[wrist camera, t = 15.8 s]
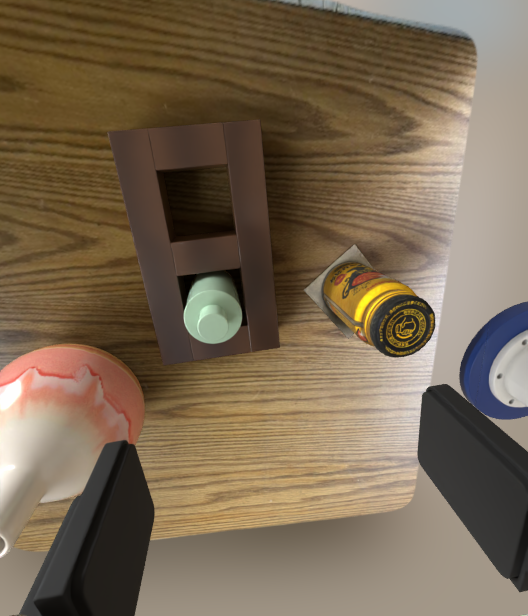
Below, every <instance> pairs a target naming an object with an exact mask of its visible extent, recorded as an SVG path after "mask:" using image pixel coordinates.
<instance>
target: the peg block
mask: <svg viewBox="0 0 528 616" xmlns="http://www.w3.org/2000/svg"><path fill="white" fill-rule="evenodd" d="M108 136H109V140H110V144H111V148H112V152H113V157H114V161H115V165H116V169H117V173H118V177H119V182H120V186H121V190H122V194H123V198H124V203H125V207H126V211H127V215H128V219H129V224H130V228H131V232H132V236H133V240H134V245H135V249H136V253H137V257H138V261H139V266H140V270H141V274H142V278H143V282H144V287H145V291H146V295H147V299H148V303H149V307H150V312H151V316H152V320H153V324H154V328H155V333H156V337H157V341H158V345H159V349H160V354H161V358H162V362H163V365H170V364H177V363H183V362H190V361H197V360H203V359H210V358H216V357H223V356H229V355H236V354H242V353H249V352H255V351H261V350H268V349H274V348H280V342H279V331H278V319H277V308H276V296H275V284H274V273H273V261H272V249H271V238H270V226H269V215H268V203H267V191H266V180H265V168H264V156H263V145H262V133H261V121H260V120H247V121H235V122H224V123H222V122H221V123H209V124H197V125H184V126H172V127H159V128H148V129H134V130H122V131H110V132H108ZM221 167H226V168H227V176H228V184H229V192H230V200H231V208H232V216H233V224H234V230H230V231H221V232H212V233H203V234H195V235H186V236H177V237H175V231H174V226H173V221H172V216H171V210H170V205H169V200H168V195H167V189H166V184H165V179H164V174H163V173H168V172H178V171H189V170H199V169H210V168H221ZM237 268H239V272H240V280H241V288H242V296H243V304H244V312H242V323H241V326H240V328H239V330H238V331H237V333H236V334H235V335H234V336H233V337H231V338H230V339H228V340H226V341H224V342H221V343H216V344H210V343H205V342H202V341H199V340H197V339H196V338H194V337H193V336H192V335H191V334H190V333H189V332H188V330H187V328H186V326H185V323H184V310H185V306H186V302H187V294H186V289H185V284H184V278H183V275H190V274H198V273H205V272H213V271H221V270H229V269H237Z"/></svg>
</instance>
